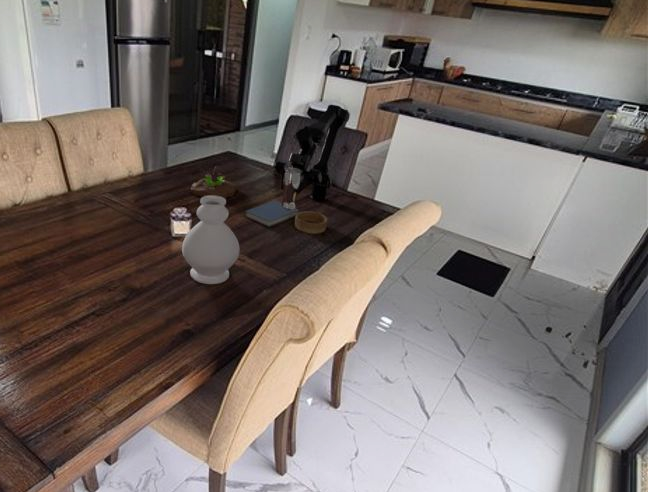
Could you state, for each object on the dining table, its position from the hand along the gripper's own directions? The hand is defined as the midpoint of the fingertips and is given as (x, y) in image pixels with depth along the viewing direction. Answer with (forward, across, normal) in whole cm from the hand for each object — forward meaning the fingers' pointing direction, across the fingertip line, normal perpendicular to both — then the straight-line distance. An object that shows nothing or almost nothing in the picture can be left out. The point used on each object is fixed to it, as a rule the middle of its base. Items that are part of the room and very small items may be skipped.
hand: (289, 191), depth 178 cm
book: (+8, -7, +11) cm, 15 cm away
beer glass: (+4, 0, +6) cm, 7 cm away
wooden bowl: (+8, +10, +11) cm, 17 cm away
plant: (+2, -41, +17) cm, 44 cm away
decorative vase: (+47, -1, -29) cm, 55 cm away
